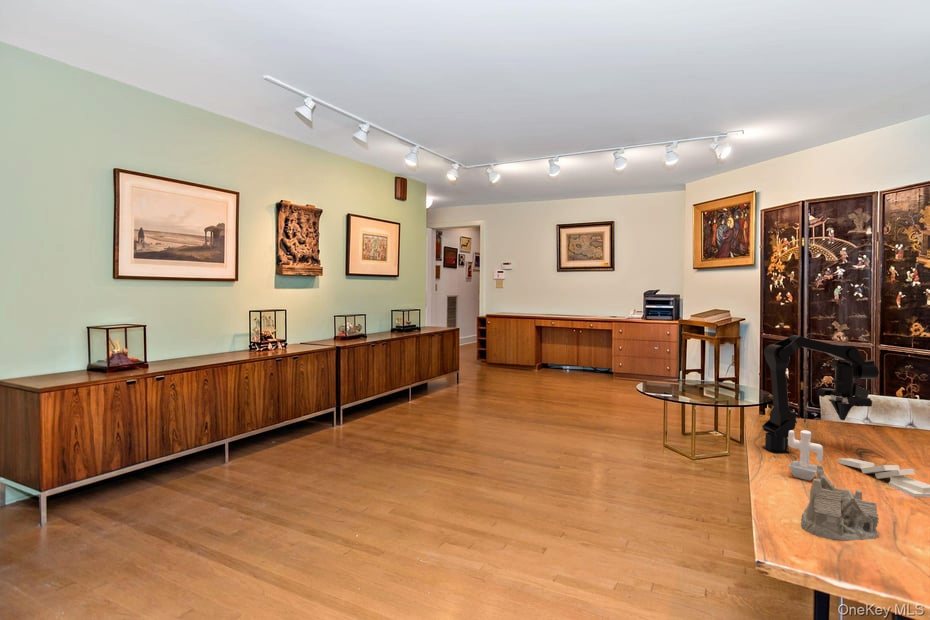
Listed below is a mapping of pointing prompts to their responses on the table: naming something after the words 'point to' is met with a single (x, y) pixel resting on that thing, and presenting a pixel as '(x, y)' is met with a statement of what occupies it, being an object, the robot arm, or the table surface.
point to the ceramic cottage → (838, 512)
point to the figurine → (804, 455)
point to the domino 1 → (855, 463)
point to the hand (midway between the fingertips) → (842, 420)
